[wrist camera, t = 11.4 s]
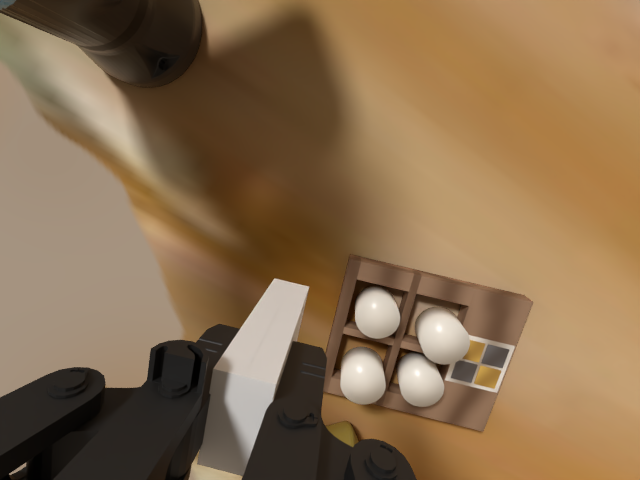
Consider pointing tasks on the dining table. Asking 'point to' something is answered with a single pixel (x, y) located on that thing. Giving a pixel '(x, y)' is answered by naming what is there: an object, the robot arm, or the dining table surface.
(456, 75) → the dining table surface
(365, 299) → the white egg
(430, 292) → the egg tray
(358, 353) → the white egg
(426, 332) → the white egg
